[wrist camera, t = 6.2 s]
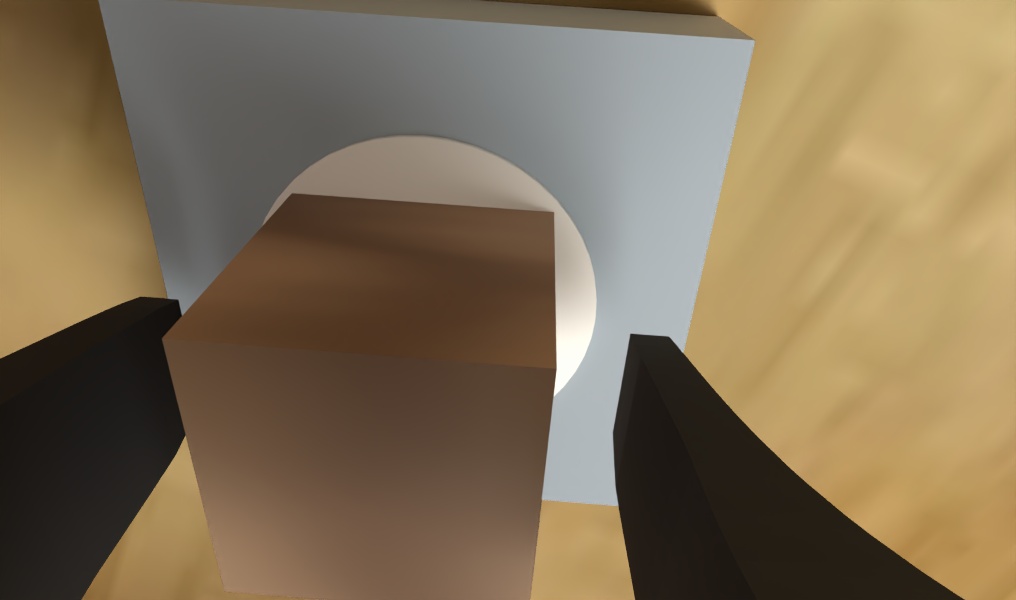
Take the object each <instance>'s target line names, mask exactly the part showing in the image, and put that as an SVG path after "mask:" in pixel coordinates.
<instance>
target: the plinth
mask: <svg viewBox="0 0 1016 600" xmlns="http://www.w3.org/2000/svg"><path fill="white" fill-rule="evenodd" d="M98 1H99V5H100V9H101V14H102V18H103V22H104V26H105V31H106V35H107V39H108V44H109V48H110V52H111V56H112V61H113V65H114V69H115V74H116V78H117V82H118V86H119V91H120V95H121V99H122V104H123V108H124V112H125V116H126V121H127V125H128V129H129V134H130V138H131V142H132V146H133V151H134V155H135V159H136V163H137V168H138V172H139V176H140V181H141V185H142V189H143V193H144V198H145V202H146V206H147V211H148V215H149V219H150V223H151V228H152V232H153V236H154V241H155V245H156V249H157V253H158V258H159V262H160V266H161V270H162V275H163V279H164V283H165V288H166V292H167V296H168V299H178V300H179V304H180V309H181V313H182V315H183V314H184V313H185V312H186V311H187V310H188V309H189V308H190V307H191V305H192V304H193V303H194V302H195V301H196V300H197V299H198V298H199V296H200V295H201V294H202V293H203V292H204V291H205V290H206V289H207V288H208V286H209V285H210V284H211V283H212V282H213V281H214V280H215V279H216V277H217V276H218V275H219V274H220V273H221V272H222V271H223V270H224V268H225V267H226V266H227V265H228V264H229V263H230V262H231V261H232V260H233V258H234V257H235V256H236V255H237V254H238V253H239V252H240V251H241V249H242V248H243V247H244V246H245V245H246V244H247V243H248V242H249V241H250V239H251V238H252V237H253V236H254V235H255V234H256V233H257V232H258V230H259V229H260V228H261V227H262V226H263V225H264V224H265V223H266V222H267V220H268V219H269V218H270V217H271V216H272V215H273V214H274V213H275V211H276V210H277V209H278V208H279V207H280V206H281V205H282V204H283V202H284V201H285V200H286V199H287V198H288V197H289V196H290V195H291V194H292V193H297V194H311V195H324V196H338V197H352V198H366V199H380V200H393V201H407V202H421V203H435V204H448V205H462V206H476V207H490V208H504V209H517V210H531V211H545V212H554V234H555V293H556V351H557V371H556V380H555V389H554V398H553V406H552V415H551V424H550V432H549V441H548V450H547V459H546V467H545V476H544V485H543V493H542V500H550V501H562V502H575V503H587V504H600V505H613V506H618V500H617V494H616V487H615V470H614V450H613V428H614V423H615V417H616V411H617V406H618V400H619V394H620V389H621V383H622V378H623V372H624V366H625V361H626V355H627V349H628V344H629V338H630V334H643V335H656V336H669V337H670V338H671V339H672V340H673V342H674V343H675V344H676V345H677V346H678V347H679V349H680V350H681V351H682V352H684V348H685V344H686V339H687V335H688V330H689V326H690V322H691V317H692V313H693V309H694V304H695V300H696V296H697V291H698V287H699V283H700V278H701V274H702V270H703V265H704V261H705V257H706V252H707V248H708V243H709V239H710V235H711V230H712V226H713V222H714V217H715V213H716V209H717V204H718V200H719V196H720V191H721V187H722V183H723V178H724V174H725V170H726V165H727V161H728V156H729V152H730V148H731V143H732V139H733V135H734V130H735V126H736V122H737V117H738V113H739V109H740V104H741V100H742V96H743V91H744V87H745V83H746V78H747V74H748V69H749V65H750V61H751V56H752V52H753V48H754V43H755V40H754V39H752V38H751V37H749V36H748V35H746V34H745V33H743V32H742V31H740V30H739V29H737V28H736V27H734V26H733V25H731V24H730V23H728V22H726V21H725V20H723V19H722V18H720V17H718V16H703V15H689V14H674V13H659V12H644V11H629V10H614V9H600V8H585V7H570V6H555V5H540V4H526V3H511V2H496V1H481V0H98Z"/></svg>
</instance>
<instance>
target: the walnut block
mask: <svg viewBox="0 0 1016 600" xmlns="http://www.w3.org/2000/svg"><path fill="white" fill-rule="evenodd" d="M162 341H163V345H164V349H165V353H166V357H167V362H168V366H169V370H170V374H171V378H172V382H173V386H174V390H175V394H176V398H177V402H178V406H179V410H180V414H181V418H182V422H183V426H184V430H185V434H186V438H187V442H188V446H189V450H190V454H191V459H192V463H193V467H194V471H195V475H196V479H197V483H198V487H199V491H200V495H201V499H202V503H203V507H204V511H205V515H206V519H207V523H208V527H209V531H210V535H211V539H212V543H213V547H214V551H215V555H216V560H217V564H218V568H219V572H220V576H221V580H222V584H223V588H224V592H235V593H247V594H259V595H271V596H284V597H296V598H308V599H320V600H530V598H531V589H532V580H533V572H534V563H535V554H536V546H537V537H538V528H539V519H540V511H541V502H542V493H543V485H544V476H545V467H546V459H547V450H548V441H549V432H550V424H551V415H552V406H553V398H554V389H555V380H556V371H557V351H556V293H555V234H554V212H545V211H531V210H517V209H504V208H490V207H476V206H462V205H448V204H435V203H421V202H407V201H393V200H380V199H366V198H352V197H338V196H324V195H311V194H297V193H292V194H291V195H290V196H289V197H288V198H287V199H286V200H285V201H284V202H283V204H282V205H281V206H280V207H279V208H278V209H277V210H276V211H275V213H274V214H273V215H272V216H271V217H270V218H269V219H268V220H267V222H266V223H265V224H264V225H263V226H262V227H261V228H260V229H259V230H258V232H257V233H256V234H255V235H254V236H253V237H252V238H251V239H250V241H249V242H248V243H247V244H246V245H245V246H244V247H243V248H242V249H241V251H240V252H239V253H238V254H237V255H236V256H235V257H234V258H233V260H232V261H231V262H230V263H229V264H228V265H227V266H226V267H225V268H224V270H223V271H222V272H221V273H220V274H219V275H218V276H217V277H216V279H215V280H214V281H213V282H212V283H211V284H210V285H209V286H208V288H207V289H206V290H205V291H204V292H203V293H202V294H201V295H200V296H199V298H198V299H197V300H196V301H195V302H194V303H193V304H192V305H191V307H190V308H189V309H188V310H187V311H186V312H185V313H184V314H183V315H182V317H181V318H180V319H179V320H178V321H177V322H176V323H175V324H174V326H173V327H172V328H171V329H170V330H169V331H168V332H167V333H166V335H165V336H164V337H163V338H162Z"/></svg>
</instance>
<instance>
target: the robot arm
mask: <svg viewBox="0 0 1016 600" xmlns="http://www.w3.org/2000/svg"><path fill="white" fill-rule="evenodd" d="M181 317H182V313H181V309H180V304H179V300H178V299H164V298H151V297H139V298H136V299H133V300H130V301H127V302H125V303H122V304H120V305H117V306H115V307H112V308H110V309H108V310H105V311H103V312H101V313H98V314H96V315H94V316H92V317H90V318H87V319H85V320H83V321H81V322H79V323H76V324H74V325H72V326H70V327H68V328H66V329H64V330H61V331H59V332H57V333H55V334H53V335H51V336H48V337H46V338H44V339H42V340H40V341H38V342H35V343H33V344H31V345H29V346H27V347H25V348H22V349H20V350H18V351H16V352H14V353H12V354H10V355H7V356H5V357H3V358H1V359H0V600H81V599H82V598H83V596H84V594H85V593H86V591H87V589H88V588H89V586H90V584H91V583H92V581H93V580H94V578H95V576H96V575H97V573H98V572H99V570H100V569H101V567H102V566H103V564H104V563H105V561H106V560H107V558H108V557H109V555H110V554H111V552H112V551H113V549H114V548H115V546H116V545H117V543H118V542H119V540H120V539H121V537H122V536H123V534H124V533H125V531H126V530H127V528H128V527H129V525H130V524H131V522H132V521H133V519H134V518H135V516H136V515H137V513H138V512H139V510H140V509H141V507H142V506H143V504H144V503H145V501H146V500H147V498H148V497H149V495H150V494H151V492H152V491H153V489H154V488H155V486H156V485H157V483H158V482H159V480H160V478H161V477H162V475H163V474H164V472H165V471H166V469H167V468H168V466H169V465H170V463H171V461H172V460H173V458H174V457H175V455H176V453H177V451H178V449H179V447H180V445H181V443H182V441H183V439H184V437H185V435H186V434H185V430H184V426H183V422H182V418H181V414H180V410H179V406H178V402H177V398H176V394H175V390H174V386H173V382H172V378H171V374H170V370H169V366H168V362H167V357H166V353H165V349H164V345H163V341H162V338H163V337H164V336H165V335H166V333H167V332H168V331H169V330H170V329H171V328H172V327H173V326H174V324H175V323H176V322H177V321H178V320H179V319H180V318H181ZM613 450H614V470H615V487H616V494H617V500H618V506H619V512H620V517H621V523H622V529H623V534H624V540H625V545H626V551H627V556H628V562H629V567H630V573H631V578H632V584H633V590H634V595H635V600H964V599H963V598H961V597H959V596H958V595H956V594H955V593H953V592H952V591H950V590H949V589H947V588H946V587H944V586H943V585H941V584H940V583H938V582H937V581H935V580H934V579H932V578H931V577H929V576H928V575H926V574H925V573H923V572H922V571H920V570H919V569H917V568H916V567H915V566H913V565H912V564H910V563H909V562H908V561H906V560H905V559H903V558H902V557H901V556H899V555H898V554H896V553H895V552H894V551H892V550H891V549H890V548H888V547H887V546H885V545H884V544H883V543H881V542H880V541H878V540H877V539H876V538H874V537H873V536H871V535H870V534H869V533H867V532H866V531H865V530H864V529H862V528H861V527H860V526H858V525H857V524H856V523H854V522H853V521H852V520H851V519H849V518H848V517H847V516H845V515H844V514H843V513H842V512H841V511H839V510H838V509H837V508H836V507H835V506H833V505H832V504H831V503H830V502H829V501H827V500H826V499H825V498H824V497H823V496H821V495H820V494H819V493H818V492H817V491H815V490H814V489H813V488H812V487H811V486H809V485H808V484H807V483H806V482H805V481H804V480H803V479H801V478H800V477H799V476H798V475H797V474H796V473H795V472H794V471H793V470H791V469H790V468H789V467H788V466H787V465H786V464H785V463H784V462H783V461H782V460H781V459H780V458H779V457H778V456H777V455H776V454H775V453H774V452H773V451H772V450H771V449H770V448H768V447H767V446H766V445H765V444H764V443H763V442H762V441H761V440H760V439H759V438H758V437H757V436H756V435H755V434H754V433H753V432H752V431H751V430H750V429H749V427H748V426H747V425H746V424H745V423H744V422H743V421H742V420H741V419H740V418H739V417H738V416H737V415H736V414H735V413H734V412H733V410H732V409H731V408H730V407H729V406H728V405H727V404H726V403H725V402H724V401H723V399H722V398H721V397H720V396H719V395H718V394H717V393H716V391H715V390H714V389H713V388H712V387H711V386H710V385H709V383H708V382H707V381H706V380H705V379H704V377H703V376H702V375H701V374H700V373H699V372H698V370H697V369H696V368H695V367H694V366H693V364H692V363H691V362H690V361H689V360H688V358H687V357H686V356H685V355H684V353H683V352H682V351H681V350H680V349H679V347H678V346H677V345H676V344H675V343H674V342H673V340H672V339H671V338H670V337H669V336H656V335H643V334H630V338H629V344H628V349H627V355H626V361H625V366H624V372H623V378H622V383H621V389H620V394H619V400H618V406H617V411H616V417H615V423H614V428H613Z"/></svg>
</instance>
